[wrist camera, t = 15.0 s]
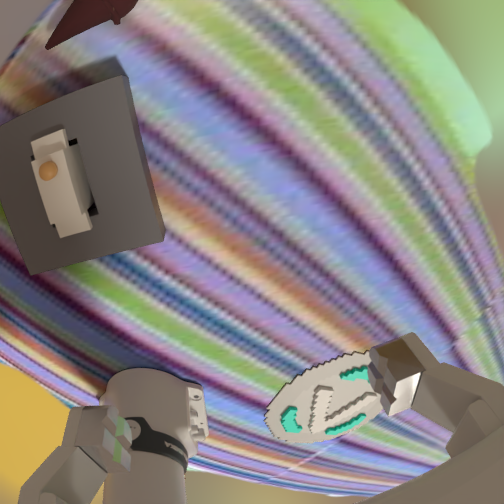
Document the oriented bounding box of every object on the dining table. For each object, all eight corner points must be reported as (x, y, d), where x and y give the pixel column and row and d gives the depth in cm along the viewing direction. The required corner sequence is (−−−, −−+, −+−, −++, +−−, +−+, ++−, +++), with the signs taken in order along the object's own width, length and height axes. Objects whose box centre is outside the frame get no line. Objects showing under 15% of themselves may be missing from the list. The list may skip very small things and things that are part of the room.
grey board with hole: (165, 230, 37) (163, 241, 34) (39, 263, 36) (30, 275, 33) (128, 77, 29) (121, 74, 26) (-4, 132, 27) (-18, 135, 25)
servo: (100, 216, 35) (85, 237, 29) (71, 224, 34) (53, 245, 29) (75, 126, 30) (54, 131, 24) (46, 137, 29) (21, 144, 24)
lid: (241, 434, 58) (242, 440, 56) (318, 336, 49) (322, 343, 47) (345, 441, 67) (347, 446, 65) (421, 361, 58) (425, 366, 56)
